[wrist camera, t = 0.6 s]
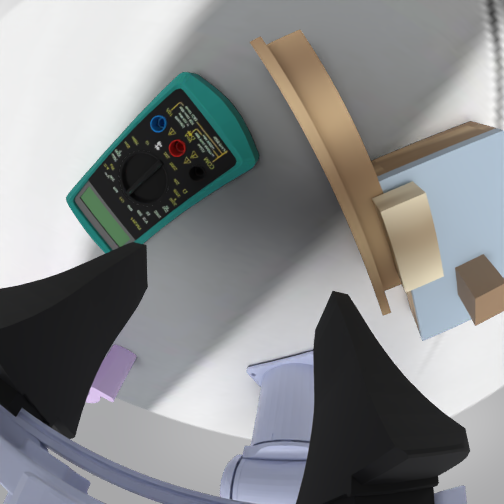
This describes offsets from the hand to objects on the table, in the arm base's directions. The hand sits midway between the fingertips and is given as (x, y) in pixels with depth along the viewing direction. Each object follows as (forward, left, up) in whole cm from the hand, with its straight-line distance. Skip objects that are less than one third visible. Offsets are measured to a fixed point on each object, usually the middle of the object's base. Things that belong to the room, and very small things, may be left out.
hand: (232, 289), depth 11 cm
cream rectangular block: (-4, -7, -5) cm, 10 cm away
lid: (-7, -11, -7) cm, 15 cm away
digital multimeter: (+5, +6, -11) cm, 13 cm away
